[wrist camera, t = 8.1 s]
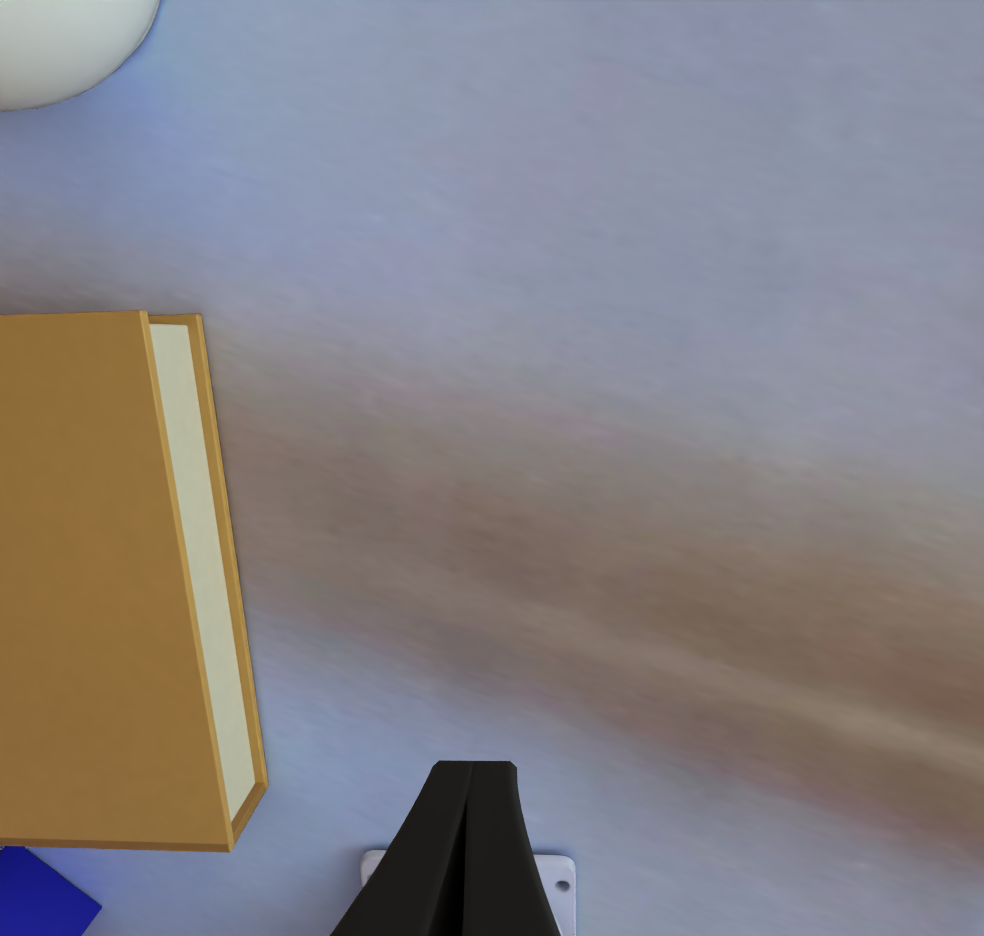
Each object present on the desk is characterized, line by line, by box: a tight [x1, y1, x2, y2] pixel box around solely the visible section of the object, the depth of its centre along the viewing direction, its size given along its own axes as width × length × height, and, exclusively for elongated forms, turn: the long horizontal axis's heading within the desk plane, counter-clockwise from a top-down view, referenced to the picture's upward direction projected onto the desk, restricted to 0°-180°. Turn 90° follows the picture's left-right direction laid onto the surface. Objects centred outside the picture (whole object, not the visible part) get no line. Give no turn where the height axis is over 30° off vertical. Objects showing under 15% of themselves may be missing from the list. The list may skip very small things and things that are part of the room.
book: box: [0, 310, 269, 852], centre depth 18 cm, size 17×12×3 cm
